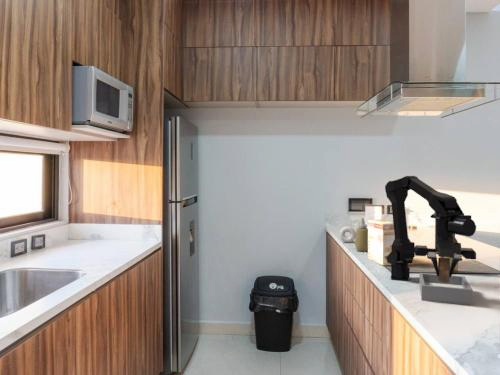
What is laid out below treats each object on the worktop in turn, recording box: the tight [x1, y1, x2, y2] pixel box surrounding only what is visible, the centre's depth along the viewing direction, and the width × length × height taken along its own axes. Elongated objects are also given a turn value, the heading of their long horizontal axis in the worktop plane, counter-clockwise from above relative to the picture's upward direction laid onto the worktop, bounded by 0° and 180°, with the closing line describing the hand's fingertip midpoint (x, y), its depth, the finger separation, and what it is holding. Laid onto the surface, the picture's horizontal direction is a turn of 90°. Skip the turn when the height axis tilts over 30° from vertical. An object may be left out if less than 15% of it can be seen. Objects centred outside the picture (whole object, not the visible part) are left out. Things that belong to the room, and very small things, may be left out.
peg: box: [437, 256, 450, 283], centre depth 134 cm, size 4×4×8 cm
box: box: [418, 272, 474, 306], centre depth 134 cm, size 15×17×5 cm
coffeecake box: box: [367, 219, 395, 266], centre depth 184 cm, size 15×7×20 cm, turn 9°
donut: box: [338, 226, 356, 244], centre depth 235 cm, size 10×3×10 cm, turn 75°
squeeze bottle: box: [354, 217, 368, 253], centre depth 210 cm, size 8×8×18 cm
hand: (443, 276), depth 134 cm, fingers closed on peg, 3 cm apart
